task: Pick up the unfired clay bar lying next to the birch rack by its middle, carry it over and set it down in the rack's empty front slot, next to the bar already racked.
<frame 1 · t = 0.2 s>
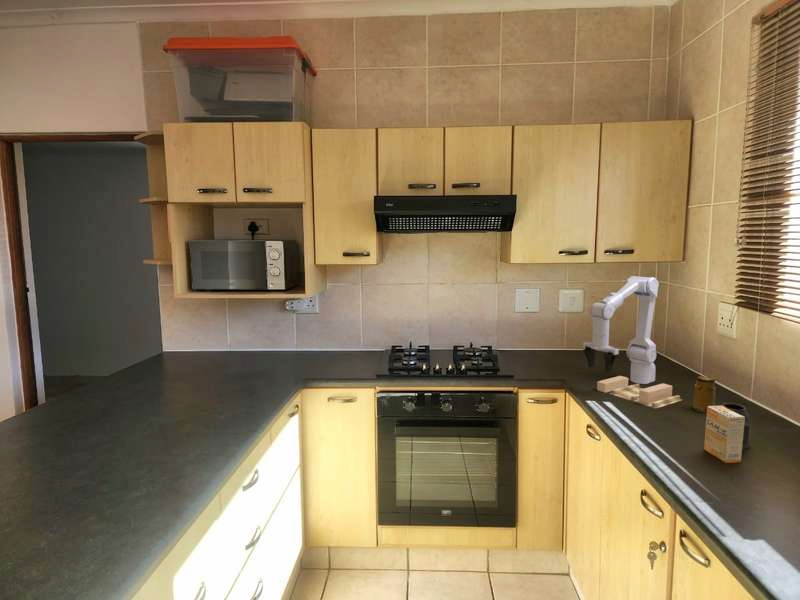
hand: (599, 369, 181), 10 cm above the worktop, tool pointing down, fingers open, 7 cm apart
condiment: (705, 413, 161), on the worktop
supplement box: (721, 456, 130), on the worktop
mug: (733, 445, 136), on the worktop
clay bar: (612, 390, 186), on the worktop
rack: (645, 398, 175), on the worktop
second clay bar: (655, 399, 172), point 1 cm above the worktop, touching rack
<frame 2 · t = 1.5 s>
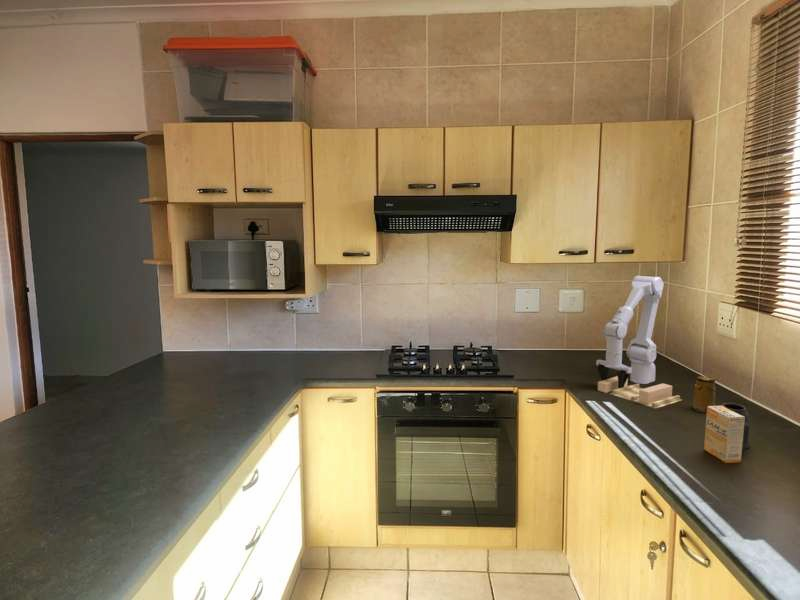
hand: (612, 386, 186), 1 cm above the worktop, tool pointing down, fingers open, 7 cm apart
nothing on the worktop moved.
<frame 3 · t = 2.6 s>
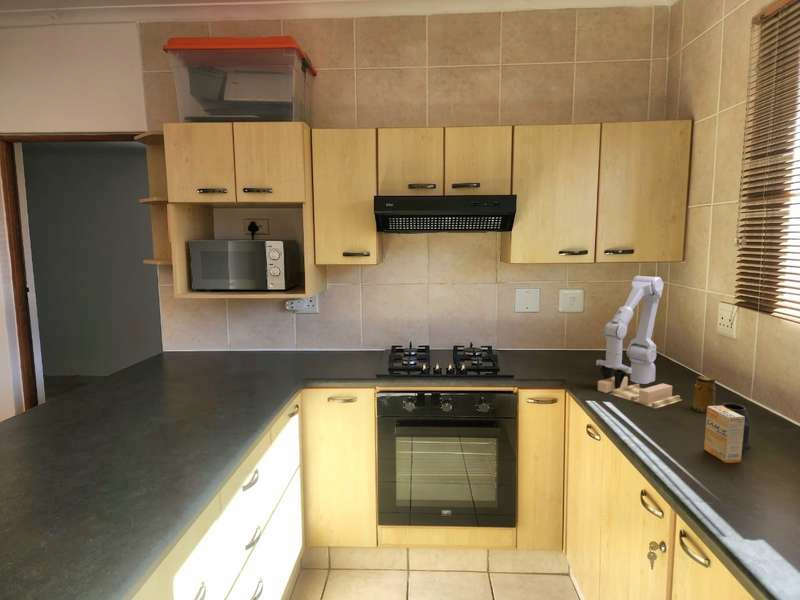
hand: (612, 386, 186), 1 cm above the worktop, tool pointing down, fingers closed on clay bar, 4 cm apart
clay bar: (612, 390, 186), on the worktop, touching gripper
everything else where it was.
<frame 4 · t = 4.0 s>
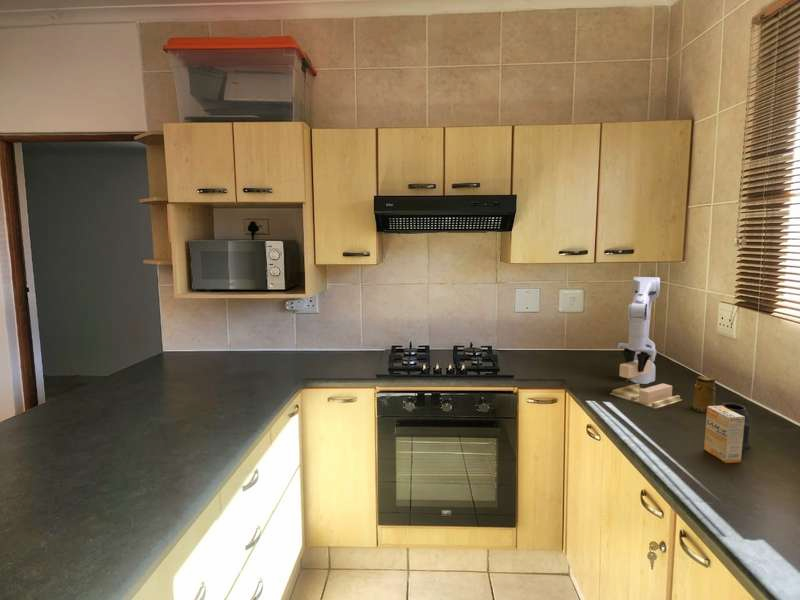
hand: (635, 370, 178), 10 cm above the worktop, tool pointing down, fingers closed on clay bar, 4 cm apart
clay bar: (635, 374, 178), point 8 cm above the worktop, touching gripper
everything else where it was.
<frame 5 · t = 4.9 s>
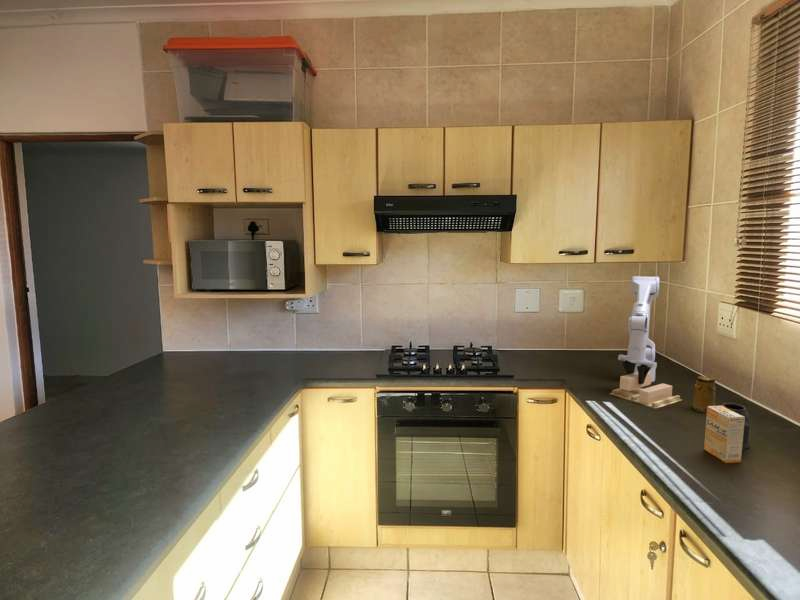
hand: (635, 382, 178), 5 cm above the worktop, tool pointing down, fingers closed on clay bar, 4 cm apart
clay bar: (635, 386, 178), point 4 cm above the worktop, touching gripper
everything else where it was.
when the fingers open (3 cm above the worktop, at t = 5.7 s): clay bar drops 1 cm, resting on rack.
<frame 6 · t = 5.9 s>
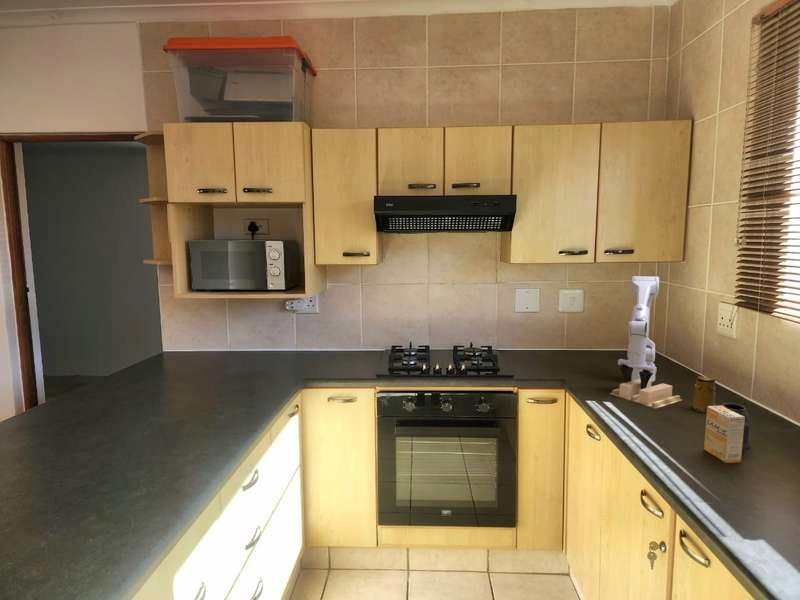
hand: (635, 387, 178), 3 cm above the worktop, tool pointing down, fingers open, 6 cm apart
clay bar: (635, 393, 179), point 1 cm above the worktop, touching rack
everything else where it was.
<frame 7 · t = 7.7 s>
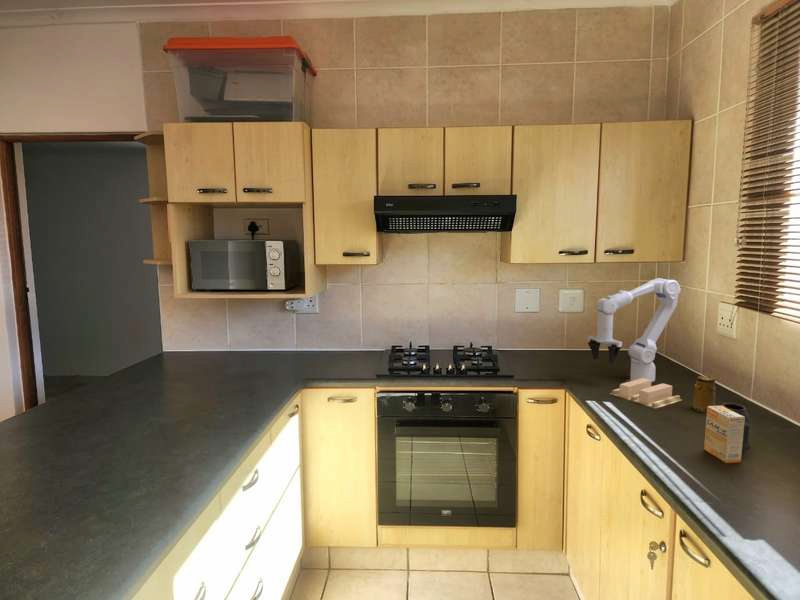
hand: (603, 360, 192), 10 cm above the worktop, tool pointing down, fingers open, 7 cm apart
nothing on the worktop moved.
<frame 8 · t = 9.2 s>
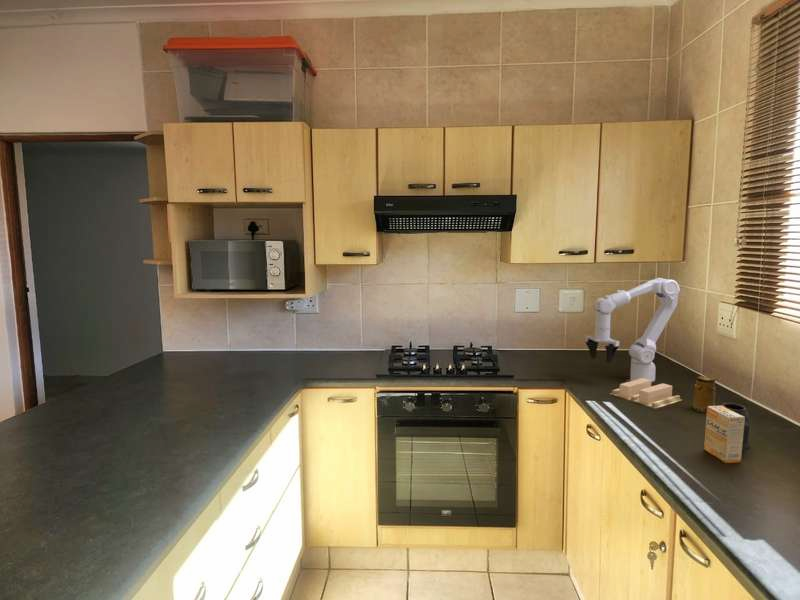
hand: (601, 360, 193), 10 cm above the worktop, tool pointing down, fingers open, 7 cm apart
nothing on the worktop moved.
at the end: clay bar 0.1 cm from the target spot on the rack, point 0.8 cm above the rack's base; clay bar tilted 0°; the gripper is holding nothing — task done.
